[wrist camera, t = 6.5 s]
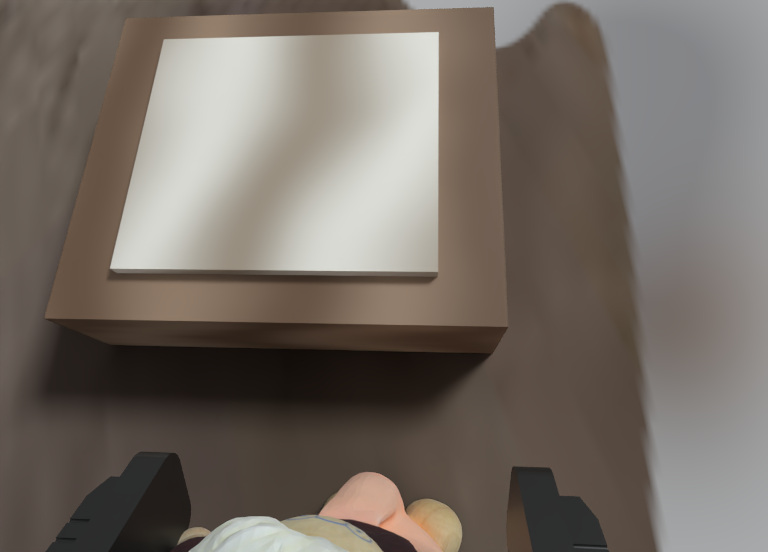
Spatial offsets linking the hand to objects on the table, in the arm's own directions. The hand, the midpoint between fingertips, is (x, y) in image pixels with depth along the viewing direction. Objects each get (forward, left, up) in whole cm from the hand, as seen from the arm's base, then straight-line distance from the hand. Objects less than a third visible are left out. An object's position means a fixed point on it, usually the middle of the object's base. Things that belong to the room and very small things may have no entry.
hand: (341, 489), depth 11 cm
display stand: (-3, +10, -6) cm, 12 cm away
